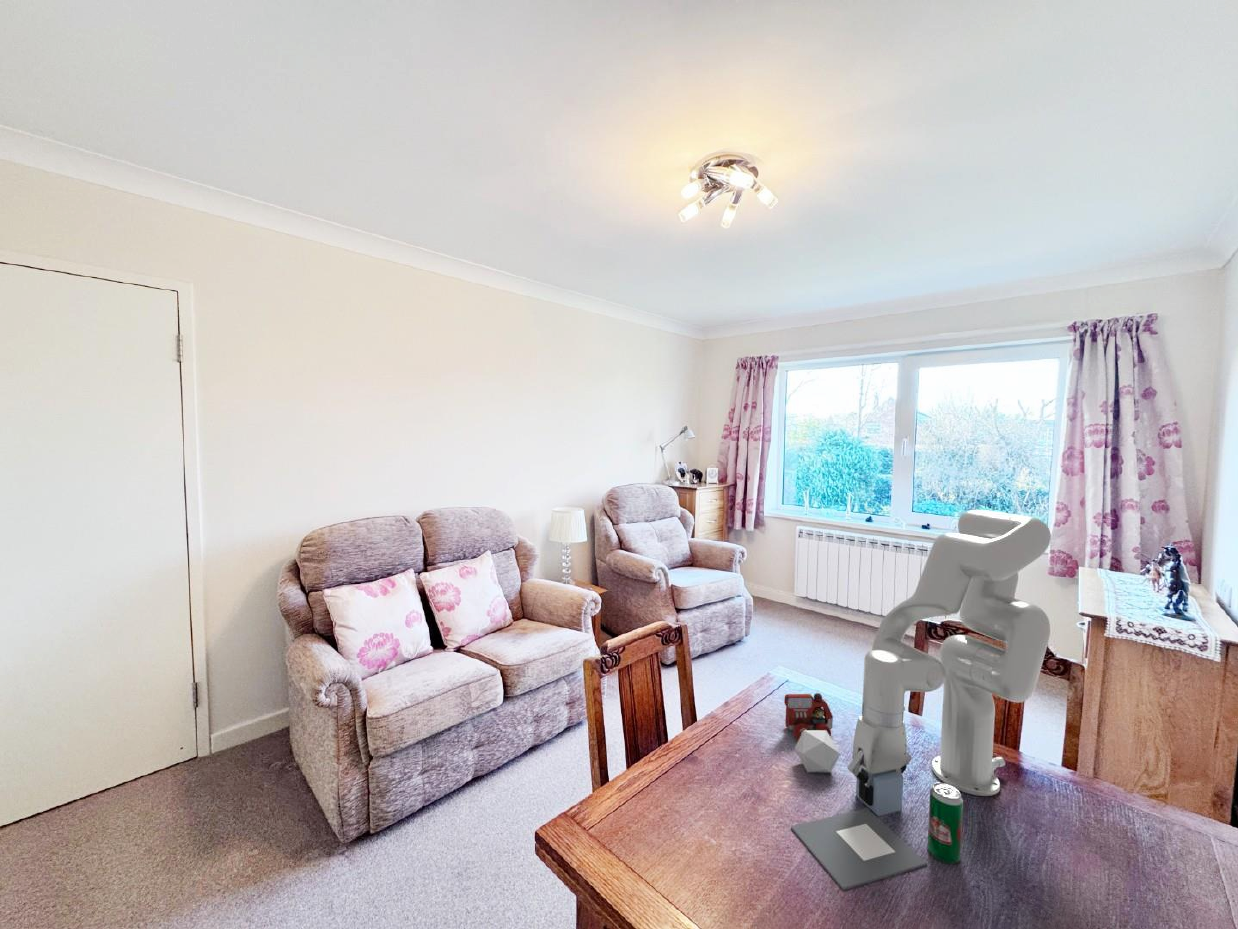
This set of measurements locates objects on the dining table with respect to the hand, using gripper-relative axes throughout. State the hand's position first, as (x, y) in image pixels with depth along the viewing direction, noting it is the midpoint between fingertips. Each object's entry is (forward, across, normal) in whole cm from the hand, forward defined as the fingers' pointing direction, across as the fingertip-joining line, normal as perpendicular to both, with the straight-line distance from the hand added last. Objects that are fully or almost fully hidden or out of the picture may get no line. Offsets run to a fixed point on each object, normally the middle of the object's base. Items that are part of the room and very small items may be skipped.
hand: (878, 797), depth 105 cm
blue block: (+1, 0, 0) cm, 1 cm away
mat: (+1, +13, +8) cm, 15 cm away
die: (+1, +5, -13) cm, 14 cm away
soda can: (+1, -1, +14) cm, 14 cm away
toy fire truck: (+1, -2, -25) cm, 25 cm away
